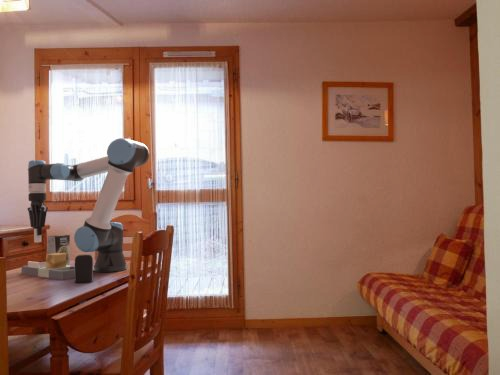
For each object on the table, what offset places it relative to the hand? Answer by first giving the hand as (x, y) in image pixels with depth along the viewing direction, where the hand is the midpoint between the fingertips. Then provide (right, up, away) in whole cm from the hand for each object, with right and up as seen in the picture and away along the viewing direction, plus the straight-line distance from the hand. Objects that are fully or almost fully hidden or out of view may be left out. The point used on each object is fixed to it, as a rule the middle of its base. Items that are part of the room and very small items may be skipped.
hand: (37, 242), depth 191 cm
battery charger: (+32, -13, -25) cm, 43 cm away
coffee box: (+3, -15, +15) cm, 21 cm away
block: (+13, -10, -8) cm, 18 cm away
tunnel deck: (+11, -14, -7) cm, 19 cm away
